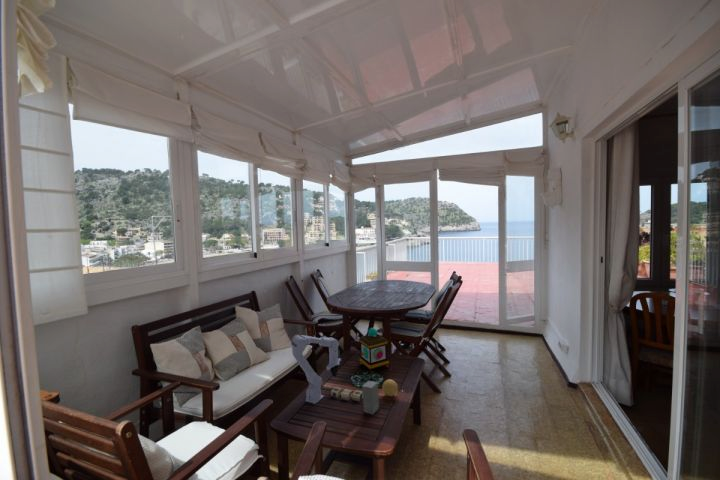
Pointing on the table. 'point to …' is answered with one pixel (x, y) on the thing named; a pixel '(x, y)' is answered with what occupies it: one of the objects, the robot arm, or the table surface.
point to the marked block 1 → (336, 392)
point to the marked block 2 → (357, 395)
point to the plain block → (346, 394)
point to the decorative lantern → (373, 350)
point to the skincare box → (370, 397)
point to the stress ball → (390, 387)
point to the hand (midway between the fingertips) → (334, 375)
